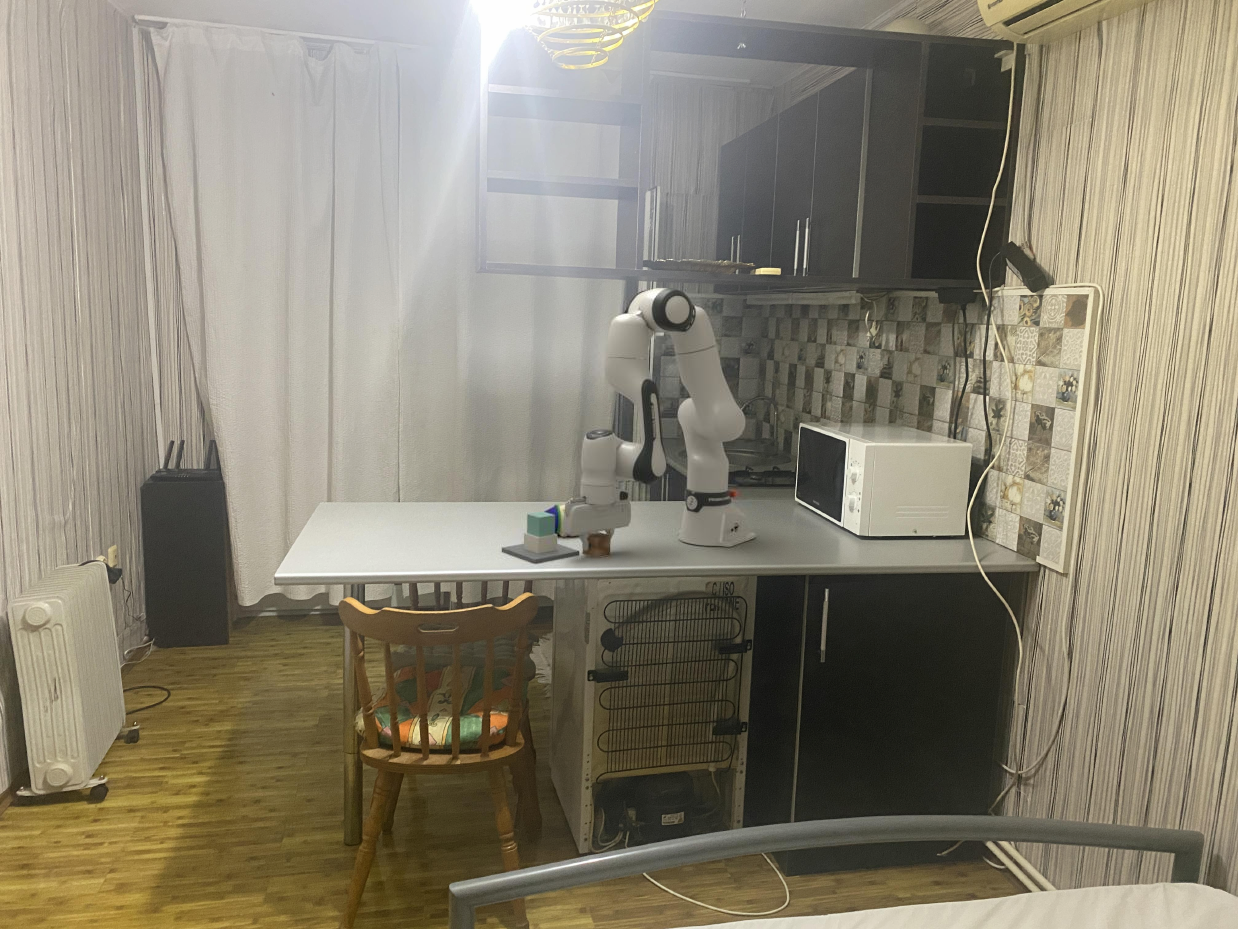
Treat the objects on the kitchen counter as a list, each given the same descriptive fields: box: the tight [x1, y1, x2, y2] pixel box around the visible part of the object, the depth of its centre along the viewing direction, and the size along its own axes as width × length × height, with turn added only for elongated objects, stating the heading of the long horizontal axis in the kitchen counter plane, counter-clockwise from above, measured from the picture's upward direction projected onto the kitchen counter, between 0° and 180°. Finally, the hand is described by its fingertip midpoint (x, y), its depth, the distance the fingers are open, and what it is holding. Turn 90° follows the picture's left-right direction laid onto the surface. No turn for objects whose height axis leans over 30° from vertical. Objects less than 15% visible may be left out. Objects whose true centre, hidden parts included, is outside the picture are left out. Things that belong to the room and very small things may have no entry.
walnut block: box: [582, 531, 612, 559], centre depth 234 cm, size 5×5×5 cm
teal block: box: [526, 511, 555, 537], centre depth 232 cm, size 5×5×5 cm
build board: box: [501, 532, 580, 564], centre depth 233 cm, size 14×14×5 cm
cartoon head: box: [543, 504, 569, 538], centre depth 253 cm, size 9×10×20 cm
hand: (596, 548), depth 234 cm, fingers closed on walnut block, 5 cm apart
